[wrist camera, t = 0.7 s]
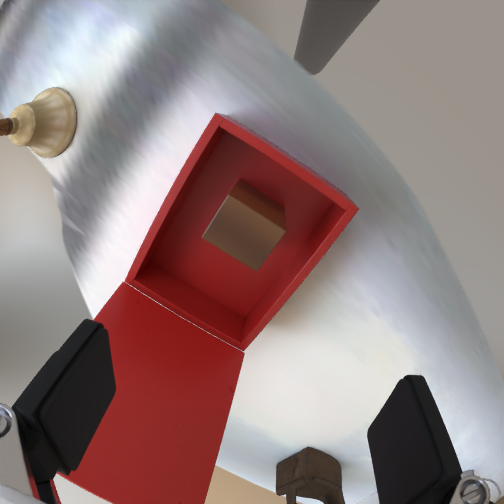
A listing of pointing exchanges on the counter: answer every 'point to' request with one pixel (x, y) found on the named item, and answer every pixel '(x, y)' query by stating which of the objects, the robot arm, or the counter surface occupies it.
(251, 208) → the block
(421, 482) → the robot arm
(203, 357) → the lid
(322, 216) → the red shallow rectangular box
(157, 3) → the counter surface
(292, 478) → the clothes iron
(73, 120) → the hand bell
